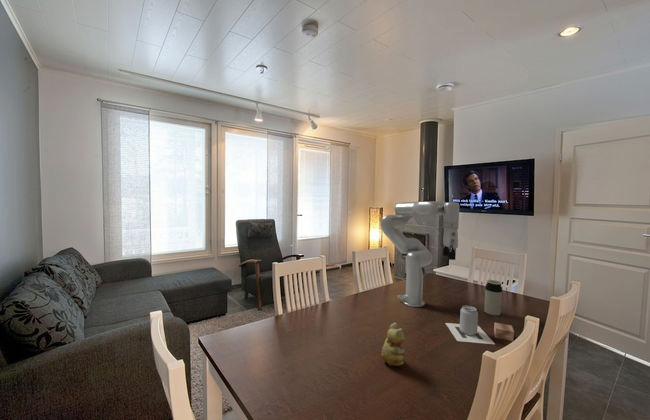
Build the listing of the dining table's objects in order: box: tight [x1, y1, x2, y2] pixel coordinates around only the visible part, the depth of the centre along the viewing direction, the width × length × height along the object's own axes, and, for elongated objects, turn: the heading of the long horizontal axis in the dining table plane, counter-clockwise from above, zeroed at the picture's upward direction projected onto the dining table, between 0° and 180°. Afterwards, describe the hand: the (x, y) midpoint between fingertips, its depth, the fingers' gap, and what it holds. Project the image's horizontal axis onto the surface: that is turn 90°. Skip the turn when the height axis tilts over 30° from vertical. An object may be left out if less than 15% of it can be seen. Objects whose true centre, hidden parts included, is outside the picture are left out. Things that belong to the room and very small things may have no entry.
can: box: [459, 305, 479, 336], centre depth 133 cm, size 8×8×12 cm
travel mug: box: [483, 279, 503, 317], centre depth 157 cm, size 8×8×18 cm
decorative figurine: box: [381, 322, 406, 367], centre depth 108 cm, size 10×8×15 cm
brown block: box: [493, 322, 515, 342], centre depth 131 cm, size 7×7×5 cm
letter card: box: [445, 322, 496, 345], centre depth 133 cm, size 16×18×1 cm
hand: (448, 257), depth 150 cm, fingers open, 9 cm apart
